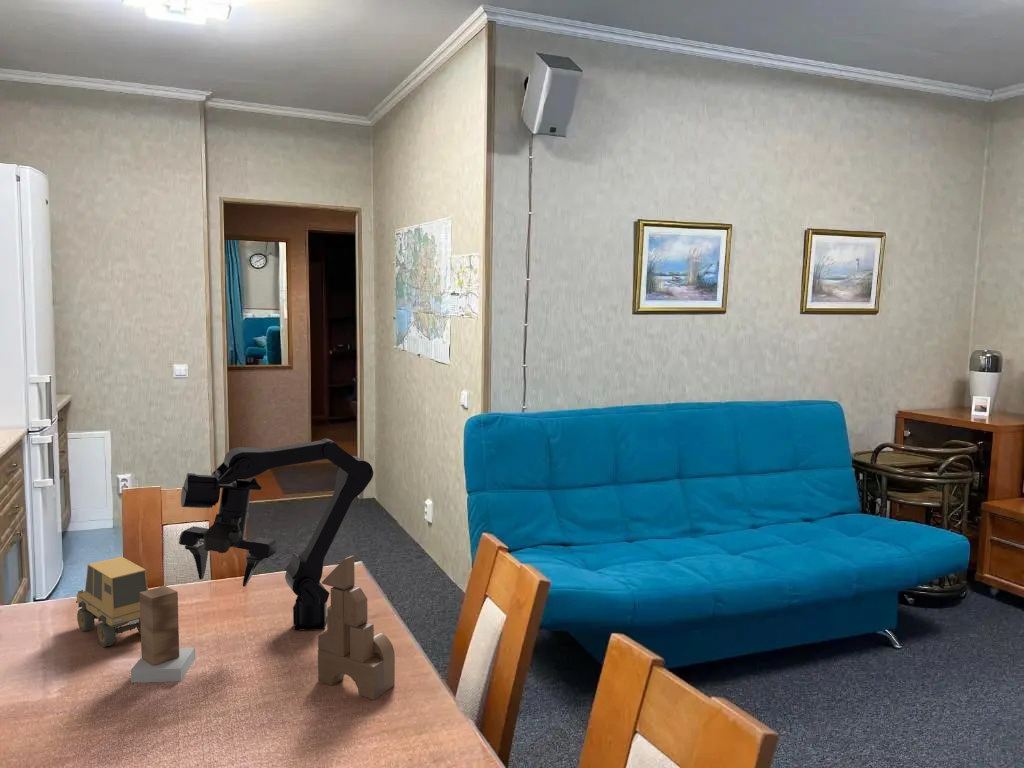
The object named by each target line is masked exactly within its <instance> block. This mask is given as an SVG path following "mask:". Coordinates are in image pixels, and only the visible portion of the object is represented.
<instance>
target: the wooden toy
mask: <svg viewBox="0 0 1024 768" xmlns="http://www.w3.org/2000/svg"><path fill="white" fill-rule="evenodd" d="M355 573H356V572H355V556H354V555H350V556H347V557H345V558H343V560H342V561H341V562H340V563H338V564H337V566H335V568H334V569H333V570H332V571H331V572H330V573H329V574H328V575H327V576H326V577H325V578H324V579H323V580H322V581H321V584H322V585H323V586H324V585H325V586H328V587H331V588H330V605H329V606H328V607H327V623H326V625H327V626H326V629H327V630H325V631H323V632H321V633H319V634H317V648H318V649H317V679H318V682H321V683H323V684H326V685H329V686H334V685H336V684H337V683H339V682H341V681H343V680H344V676H345V675H346V676H348V677H350V678H351V679H352V681H353V682H354V684H355V685H356V688H357V692H358V696H360V697H362V698H366V699H370V700H372V701H374V700H376V699H378V698H379V697H381V696H382V695H384V694H385V692H387V691H388V690H390V689H392V688H393V687H394V686H396V685H395V680H396V676H395V675H396V674H395V673H396V669H395V668H396V662H395V661H396V659H395V658H396V656H395V650H394V645H393V643H392V641H391V640H390V639H389V638H388V637H387V635H385V633H383V632H380V633H377V634H376V635H374V632H375V630H374V629H375V628H374V627H375V625H374V624H373V623H371V622H368V620H369V618H368V614H369V613H368V597H367V595H366V594H365V593H364V591H363V589H362V588H361V586H357V585H355V580H356V579H355Z"/></svg>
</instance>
